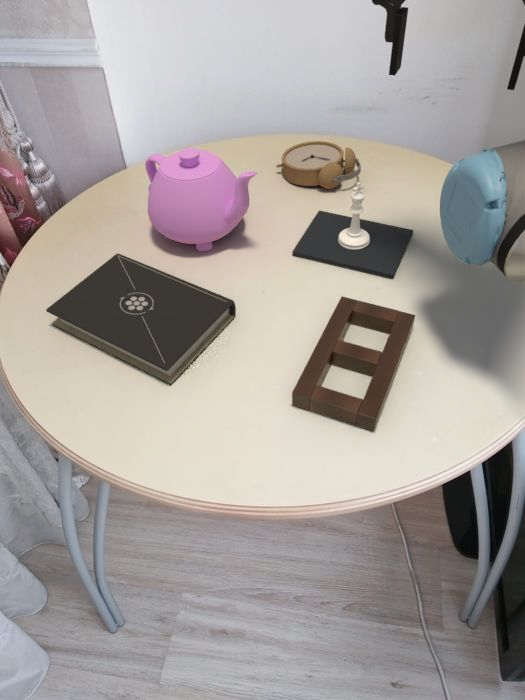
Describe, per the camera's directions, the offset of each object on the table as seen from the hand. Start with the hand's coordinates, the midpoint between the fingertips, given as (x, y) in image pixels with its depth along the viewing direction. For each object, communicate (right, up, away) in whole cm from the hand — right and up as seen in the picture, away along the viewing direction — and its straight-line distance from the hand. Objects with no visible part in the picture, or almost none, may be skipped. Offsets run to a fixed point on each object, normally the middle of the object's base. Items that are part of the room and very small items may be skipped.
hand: (451, 78), depth 66 cm
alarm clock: (-12, 0, +37) cm, 39 cm away
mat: (-8, -15, +23) cm, 29 cm away
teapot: (-32, -12, +27) cm, 44 cm away
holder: (-10, -34, +6) cm, 36 cm away
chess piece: (-8, -15, +22) cm, 28 cm away
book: (-39, -28, +13) cm, 50 cm away
